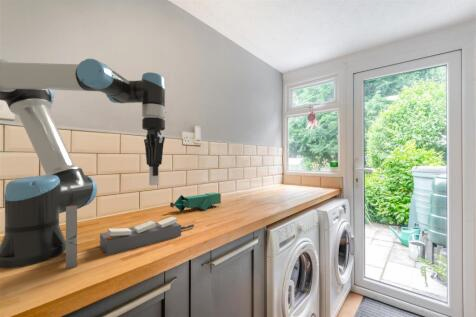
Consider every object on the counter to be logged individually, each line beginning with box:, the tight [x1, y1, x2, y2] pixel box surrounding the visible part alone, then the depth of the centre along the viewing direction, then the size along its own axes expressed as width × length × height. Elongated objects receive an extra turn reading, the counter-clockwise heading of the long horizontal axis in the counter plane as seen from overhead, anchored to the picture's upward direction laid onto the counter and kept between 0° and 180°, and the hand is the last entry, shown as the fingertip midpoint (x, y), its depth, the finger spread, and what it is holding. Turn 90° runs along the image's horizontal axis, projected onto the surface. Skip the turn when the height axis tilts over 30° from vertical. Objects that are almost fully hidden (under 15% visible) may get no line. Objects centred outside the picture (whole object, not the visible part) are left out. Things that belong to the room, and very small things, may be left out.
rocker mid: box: [133, 220, 156, 233], centre depth 73 cm, size 6×4×1 cm, turn 133°
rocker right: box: [157, 216, 178, 228], centre depth 79 cm, size 6×4×1 cm, turn 133°
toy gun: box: [65, 205, 78, 270], centre depth 61 cm, size 2×16×15 cm
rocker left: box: [106, 227, 132, 236], centre depth 68 cm, size 6×4×1 cm, turn 133°
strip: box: [99, 221, 195, 256], centre depth 78 cm, size 32×10×4 cm, turn 133°
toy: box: [169, 192, 222, 213], centre depth 123 cm, size 12×10×30 cm
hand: (153, 185), depth 76 cm, fingers closed
